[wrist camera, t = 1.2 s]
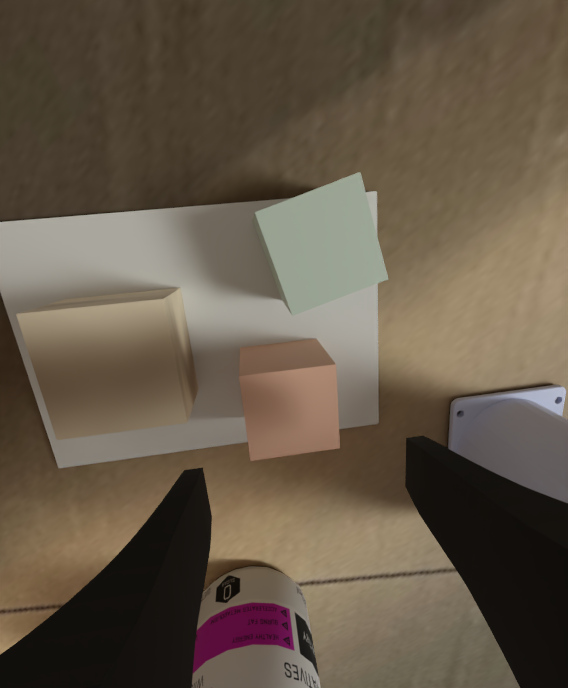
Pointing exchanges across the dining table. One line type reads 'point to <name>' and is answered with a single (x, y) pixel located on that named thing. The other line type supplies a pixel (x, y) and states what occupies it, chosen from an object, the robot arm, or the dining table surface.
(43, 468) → the dining table surface
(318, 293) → the sage block
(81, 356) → the birch base block
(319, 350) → the terracotta block
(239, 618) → the supplement can
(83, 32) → the dining table surface
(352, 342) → the mat
